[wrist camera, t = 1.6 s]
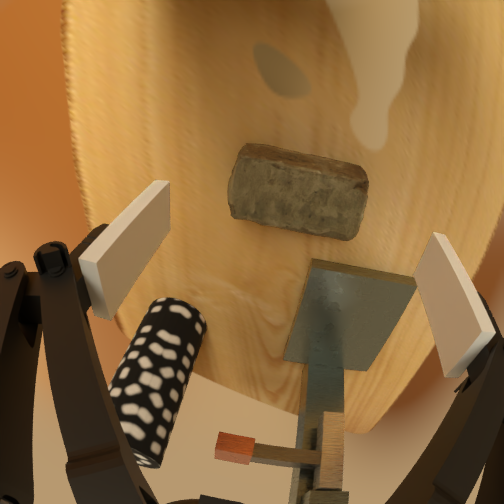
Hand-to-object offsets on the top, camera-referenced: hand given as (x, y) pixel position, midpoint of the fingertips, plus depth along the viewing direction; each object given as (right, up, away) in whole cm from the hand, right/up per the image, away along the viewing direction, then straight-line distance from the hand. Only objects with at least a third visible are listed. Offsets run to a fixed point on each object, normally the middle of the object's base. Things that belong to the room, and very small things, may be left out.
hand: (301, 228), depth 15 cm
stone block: (+2, +6, +14) cm, 15 cm away
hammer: (+1, -19, +17) cm, 25 cm away
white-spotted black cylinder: (-12, -10, +27) cm, 31 cm away
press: (+9, -11, +23) cm, 27 cm away
